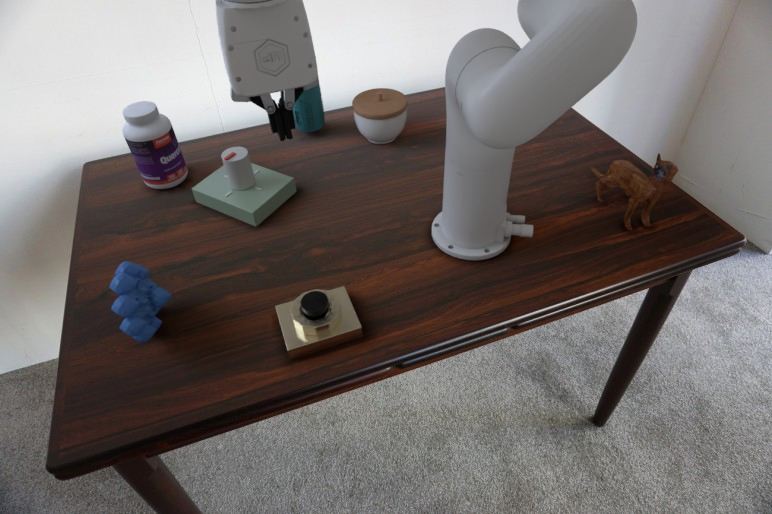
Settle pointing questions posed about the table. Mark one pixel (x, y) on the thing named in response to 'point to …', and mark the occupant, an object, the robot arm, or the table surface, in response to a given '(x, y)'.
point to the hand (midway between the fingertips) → (284, 134)
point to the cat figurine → (636, 185)
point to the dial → (238, 168)
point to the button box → (318, 324)
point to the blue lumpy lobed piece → (137, 301)
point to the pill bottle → (154, 145)
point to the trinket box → (380, 114)
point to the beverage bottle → (309, 110)
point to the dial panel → (245, 194)
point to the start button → (315, 305)
